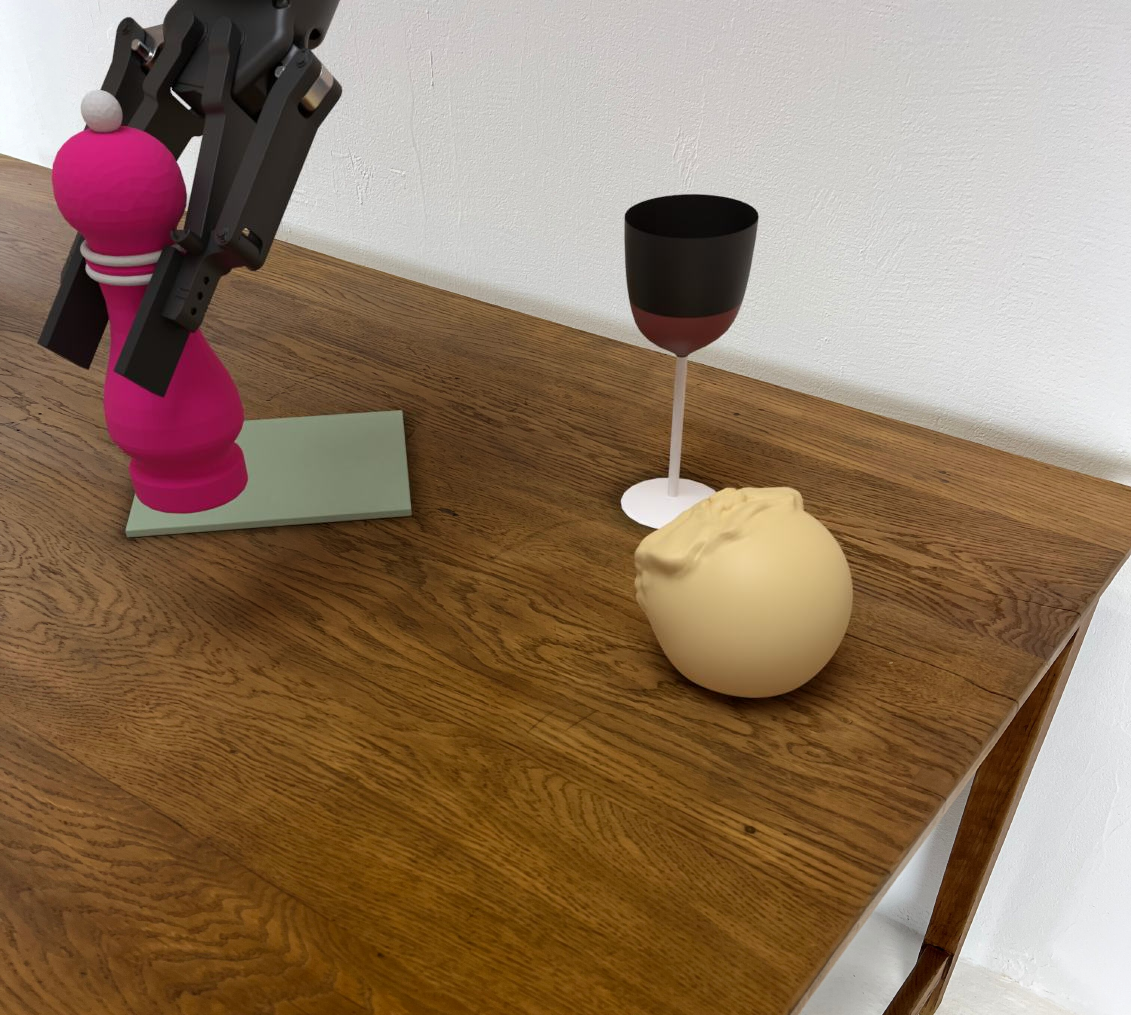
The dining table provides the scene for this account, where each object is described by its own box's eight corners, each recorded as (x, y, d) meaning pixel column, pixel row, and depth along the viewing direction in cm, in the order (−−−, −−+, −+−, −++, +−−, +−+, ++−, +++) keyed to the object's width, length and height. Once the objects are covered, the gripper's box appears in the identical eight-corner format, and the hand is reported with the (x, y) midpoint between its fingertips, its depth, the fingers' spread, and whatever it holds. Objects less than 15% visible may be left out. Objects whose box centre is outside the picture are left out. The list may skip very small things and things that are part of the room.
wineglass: (751, 498, 84) (785, 211, 71) (678, 546, 79) (701, 248, 66) (666, 463, 88) (683, 185, 75) (592, 507, 83) (596, 218, 70)
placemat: (127, 537, 80) (125, 530, 80) (154, 433, 92) (152, 426, 92) (411, 516, 82) (411, 508, 82) (402, 416, 94) (402, 409, 94)
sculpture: (729, 583, 76) (745, 433, 69) (875, 666, 69) (911, 509, 62) (603, 653, 70) (606, 497, 63) (749, 750, 64) (772, 589, 56)
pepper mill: (221, 444, 69) (138, 64, 55) (280, 491, 65) (206, 93, 51) (106, 481, 65) (-13, 87, 52) (160, 534, 61) (47, 120, 48)
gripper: (461, 4, 56) (277, 446, 57) (202, -32, 63) (45, 360, 64) (377, -122, 49) (171, 383, 50) (99, -146, 56) (-76, 295, 57)
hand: (100, 369), depth 57 cm, fingers closed on pepper mill, 5 cm apart
